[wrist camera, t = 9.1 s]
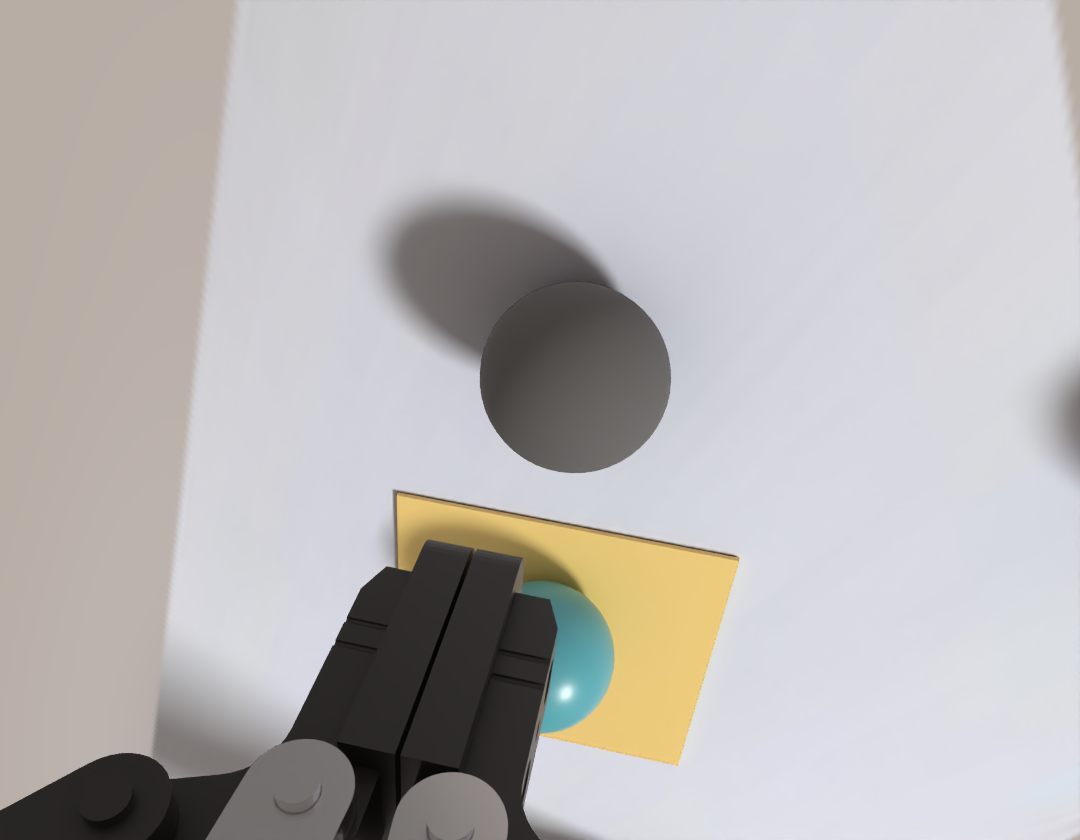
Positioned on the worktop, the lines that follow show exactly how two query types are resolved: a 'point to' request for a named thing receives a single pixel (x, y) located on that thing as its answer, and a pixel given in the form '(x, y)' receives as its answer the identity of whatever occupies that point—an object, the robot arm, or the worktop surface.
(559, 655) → the object ball
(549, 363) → the dark gray ball
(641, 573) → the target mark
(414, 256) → the worktop surface
